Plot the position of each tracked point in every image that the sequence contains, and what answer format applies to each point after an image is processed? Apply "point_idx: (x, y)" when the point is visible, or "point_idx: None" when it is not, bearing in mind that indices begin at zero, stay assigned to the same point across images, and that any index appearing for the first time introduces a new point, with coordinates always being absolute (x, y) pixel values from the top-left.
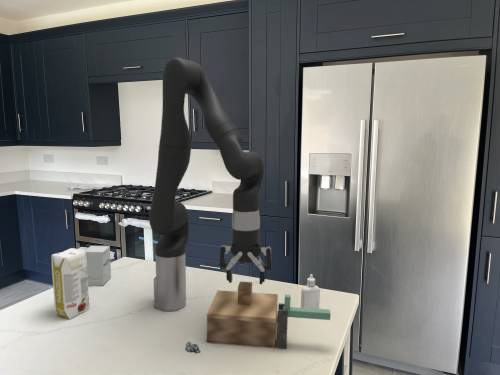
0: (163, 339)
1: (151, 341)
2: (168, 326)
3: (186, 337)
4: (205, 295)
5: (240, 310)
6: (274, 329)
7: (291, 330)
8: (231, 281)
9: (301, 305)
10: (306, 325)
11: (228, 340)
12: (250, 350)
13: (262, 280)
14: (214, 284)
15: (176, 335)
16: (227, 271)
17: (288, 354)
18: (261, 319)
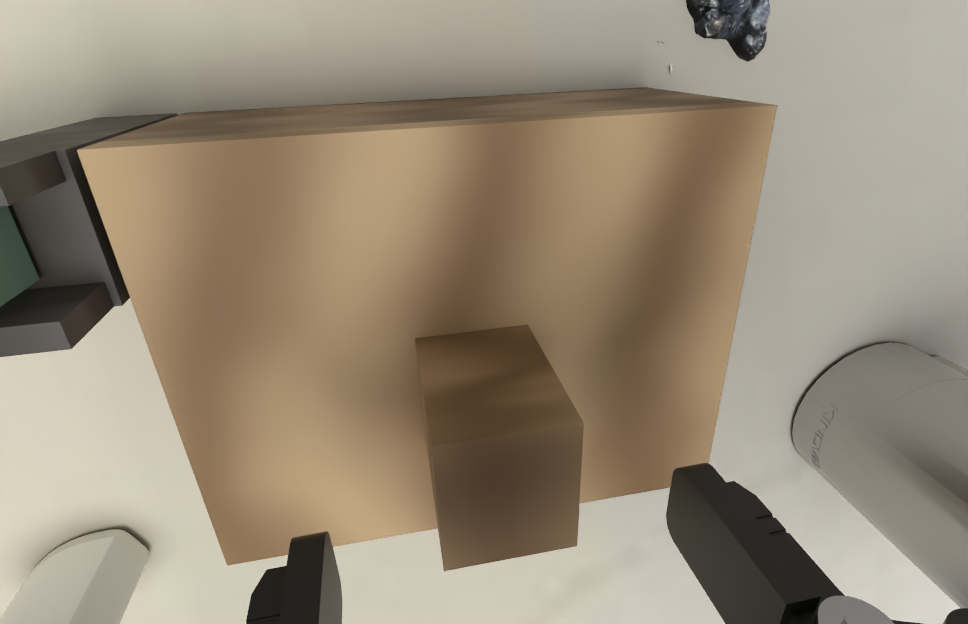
0: (893, 68)
1: (957, 32)
2: (868, 207)
3: None
4: None
5: (485, 230)
6: (139, 131)
7: (138, 340)
8: (679, 486)
9: (127, 573)
10: (56, 417)
11: (517, 96)
12: (349, 47)
13: (283, 589)
14: (668, 616)
15: (824, 126)
16: (816, 584)
17: (55, 46)
18: (248, 137)
